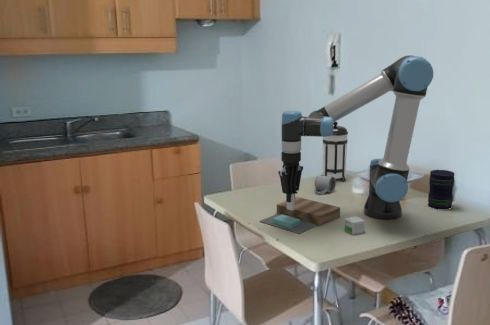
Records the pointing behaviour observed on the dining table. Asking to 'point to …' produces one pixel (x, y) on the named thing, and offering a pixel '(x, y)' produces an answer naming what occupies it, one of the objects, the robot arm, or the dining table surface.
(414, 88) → the robot arm
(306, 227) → the mat
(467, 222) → the dining table surface
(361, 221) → the small box
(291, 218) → the card
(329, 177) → the ceramic mug
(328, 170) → the coffee press
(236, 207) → the dining table surface
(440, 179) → the storage jar
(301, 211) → the board
